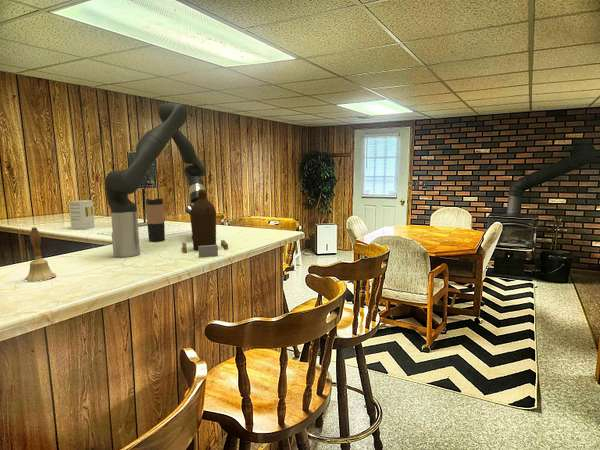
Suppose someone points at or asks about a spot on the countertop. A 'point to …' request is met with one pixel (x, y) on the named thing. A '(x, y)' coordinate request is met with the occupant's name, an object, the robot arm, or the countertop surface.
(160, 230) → the travel mug
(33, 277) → the hand bell
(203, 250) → the block
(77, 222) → the supplement box
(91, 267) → the countertop surface
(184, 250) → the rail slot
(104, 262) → the countertop surface
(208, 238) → the olive oil
